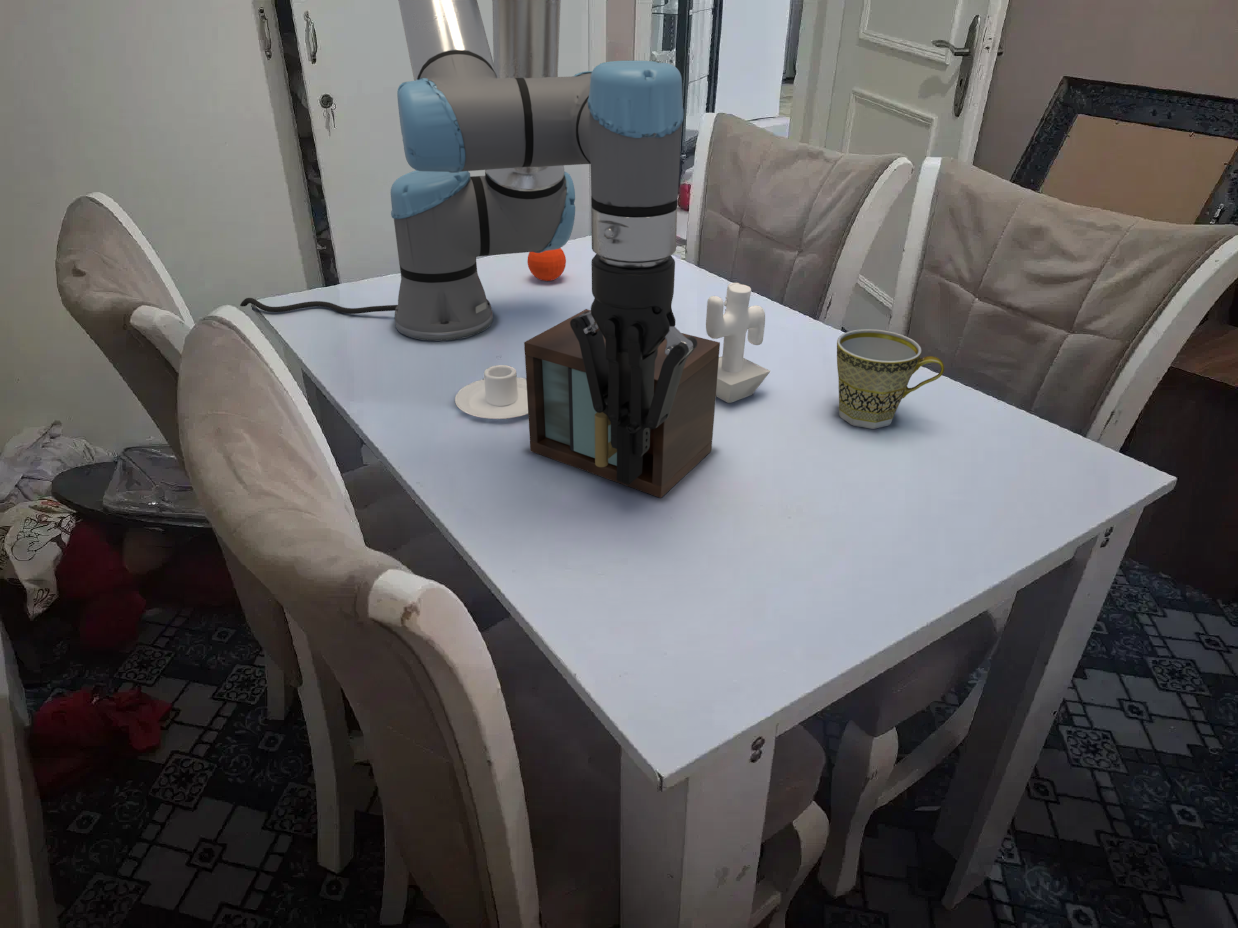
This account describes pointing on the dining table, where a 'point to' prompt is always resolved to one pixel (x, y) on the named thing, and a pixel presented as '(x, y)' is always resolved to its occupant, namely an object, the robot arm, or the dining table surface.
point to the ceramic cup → (876, 375)
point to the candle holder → (495, 395)
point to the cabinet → (670, 442)
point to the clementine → (547, 264)
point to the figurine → (736, 342)
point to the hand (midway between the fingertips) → (629, 476)
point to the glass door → (588, 423)
